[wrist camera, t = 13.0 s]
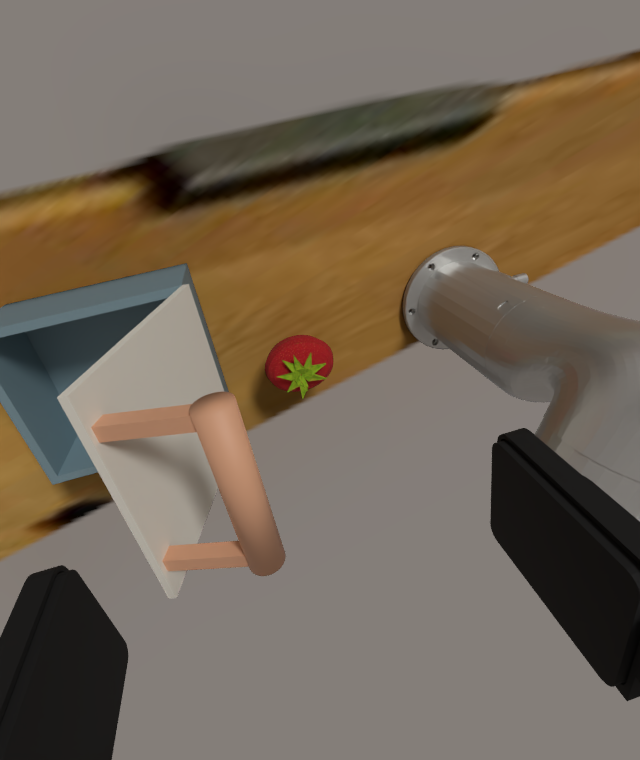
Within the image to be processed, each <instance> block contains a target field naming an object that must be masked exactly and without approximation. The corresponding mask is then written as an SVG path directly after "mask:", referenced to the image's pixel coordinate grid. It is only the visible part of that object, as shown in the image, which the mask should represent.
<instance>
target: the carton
mask: <svg viewBox="0 0 640 760" xmlns="http://www.w3.org/2000/svg"><path fill="white" fill-rule="evenodd" d="M186 284H189V286H190V290H191V293H192V296H193V299H194V302H195V305H196V308H197V311H198V314H199V317H200V320H201V323H202V326H203V329H204V332H205V335H206V338H207V341H208V344H209V347H210V350H211V353H212V356H213V359H214V362H215V365H216V368H217V371H218V374H219V377H220V380H221V383H222V386H223V389H224V392H229V391H228V388H227V385H226V382H225V379H224V376H223V373H222V370H221V367H220V364H219V361H218V358H217V355H216V352H215V348H214V345H213V342H212V339H211V336H210V333H209V330H208V327H207V324H206V321H205V318H204V315H203V312H202V309H201V306H200V303H199V299H198V296H197V293H196V290H195V287H194V284H193V281H192V278H191V275H190V272H189V269H188V266H187V263H186V264H181V265H177V266H173V267H168V268H164V269H160V270H155V271H151V272H146V273H142V274H138V275H133V276H129V277H125V278H120V279H116V280H111V281H107V282H103V283H98V284H94V285H90V286H85V287H81V288H76V289H72V290H68V291H63V292H59V293H55V294H50V295H46V296H41V297H37V298H33V299H28V300H24V301H20V302H15V303H11V304H6V305H4V306H3V307H1V308H0V402H1V404H2V406H3V407H4V409H5V410H6V412H7V413H8V415H9V417H10V418H11V420H12V421H13V423H14V424H15V426H16V428H17V429H18V431H19V432H20V434H21V435H22V437H23V439H24V440H25V442H26V443H27V445H28V447H29V448H30V450H31V451H32V453H33V454H34V456H35V458H36V459H37V461H38V462H39V464H40V465H41V467H42V469H43V470H44V472H45V473H46V475H47V476H48V478H49V480H50V481H51V483H52V484H53V485H54V484H57V483H61V482H64V481H68V480H72V479H75V478H79V477H83V476H86V475H90V474H93V473H97V472H98V471H97V469H96V467H95V466H94V464H93V462H92V460H91V458H90V457H89V455H88V453H87V451H86V449H85V448H84V446H83V444H82V442H81V440H80V439H79V437H78V435H77V433H76V431H75V430H74V428H73V426H72V424H71V422H70V421H69V419H68V417H67V415H66V413H65V412H64V410H63V408H62V406H61V404H60V403H59V401H58V399H57V397H58V396H59V395H60V394H61V393H62V392H63V391H65V390H66V389H67V388H68V387H69V386H70V385H71V384H72V383H73V382H75V381H76V380H77V379H78V378H79V377H80V376H81V375H82V374H83V373H85V372H86V371H87V370H88V369H89V368H90V367H91V366H92V365H94V364H95V363H96V362H97V361H98V360H99V359H100V358H101V357H102V356H104V355H105V354H106V353H107V352H108V351H109V350H110V349H111V348H112V347H114V346H115V345H116V344H117V343H118V342H119V341H120V340H121V339H122V338H124V337H125V336H126V335H127V334H128V333H129V332H130V331H131V330H133V329H134V328H135V327H136V326H137V325H138V324H139V323H140V322H141V321H143V320H144V319H145V318H146V317H147V316H148V315H149V314H150V313H151V312H153V311H154V310H155V309H156V308H157V307H158V306H159V305H160V304H162V303H163V302H164V301H165V300H166V299H167V298H168V297H169V296H170V295H172V294H173V293H174V292H175V291H176V290H177V289H178V288H179V287H180V286H182V285H186Z"/></svg>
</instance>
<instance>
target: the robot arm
mask: <svg viewBox="0 0 640 760" xmlns="http://www.w3.org/2000/svg"><path fill="white" fill-rule="evenodd" d="M472 255H473V256H472ZM429 264H430V266H429ZM428 266H429V267H428ZM527 283H528V276H527V274H525V273H522V274H518V275H514V276H512V277H511V276H509V275H506V274H504V273H501V272H499V270H498V267H497V266H496V264H495V262H494V261H493V260H492V259H491V258H490V257H489V256H488V255H487V254H485V253H484V252H482V251H481V250H478V249H475V248H472V247H467V246H453V247H449V248H445V249H442V250H440V251H438V252H436V253H434V254H433V255H431V256H430V257H428V258H427V259H426V260H425V261H424V262H423V263H422V264H421V265H420V266H419V267H418V268H417V269H416V271H415V272H414V273H413V275H412V276H411V278H410V280H409V282H408V284H407V287H406V290H405V293H404V298H403V315H404V319H405V323H406V325H407V327H408V329H409V331H410V332H411V333H412V334H413V336H414V337H415V338H417V339H418V340H419V341H420V342H422V343H423V344H425V345H427V346H429V347H432V348H437V349H451V350H452V351H453V352H455V353H456V354H457V355H459V356H460V357H461V358H462V359H464V360H465V361H466V362H468V363H469V364H470V365H471V366H473V367H474V368H475V369H476V370H478V371H479V372H480V373H481V374H483V375H484V376H485V377H487V378H488V379H489V380H490V381H492V382H493V383H494V384H495V385H497V386H498V387H499V388H501V389H502V390H503V391H505V392H506V393H508V394H509V395H511V396H513V397H516V398H518V399H521V400H526V401H530V402H551V403H550V405H549V407H548V409H547V411H546V413H545V414H544V418H543V420H542V422H541V423H540V425H539V427H538V429H537V431H536V433H535V434H533V433H532V432H531V431H529V430H528V429H525V428H522V429H518V430H515V431H512V432H508V433H505V434H502V435H500V436H499V437H498V441H497V443H494V444H493V447H492V482H491V483H492V485H491V529H492V532H493V535H494V536H495V538H496V540H497V541H498V543H499V544H500V545H501V547H502V548H503V549H504V551H505V552H506V553H507V555H508V556H509V557H510V559H511V560H512V561H513V563H514V564H515V565H516V567H517V568H518V569H519V571H520V572H521V573H522V574H523V576H524V577H525V579H526V580H527V581H528V582H529V584H530V585H531V586H532V588H533V589H534V591H535V592H536V593H537V594H538V596H539V597H540V598H541V600H542V601H543V602H544V603H545V605H546V606H547V608H548V609H549V610H550V612H551V613H552V614H553V616H554V617H555V618H556V620H557V621H558V622H559V624H560V625H561V626H562V628H563V629H564V630H565V632H566V633H567V634H568V636H569V637H570V638H571V640H572V641H573V642H574V644H575V645H576V646H577V648H578V649H579V650H580V652H581V653H582V654H583V656H584V657H585V658H586V660H587V661H588V662H589V664H590V665H591V666H592V668H593V669H594V670H595V671H596V673H597V674H598V676H599V677H600V678H601V679H602V680H603V681H604V682H605V683H606V684H607V685H609V686H616V687H617V689H618V690H619V691H620V693H621V694H622V695H623V697H624V698H625V699H626V700H627V701H628V700H631V699H634V698H636V697H639V696H640V321H637V320H632V319H627V318H623V317H619V316H616V315H612V314H607V313H604V312H601V311H598V310H595V309H592V308H589V307H586V306H583V305H580V304H577V303H575V302H572V301H570V300H567V299H564V298H562V297H559V296H556V295H553V294H551V293H548V292H546V291H543V290H541V289H538V288H536V287H533V286H530V285H528V284H527ZM410 309H411V310H410ZM409 310H410V311H409ZM127 663H128V649H127V645H126V642H125V641H124V639H123V638H122V636H121V635H120V633H119V632H118V630H117V629H116V628H115V626H114V625H113V623H112V622H111V620H110V619H109V617H108V616H107V614H106V613H105V612H104V610H103V609H102V607H101V606H100V605H99V603H98V601H97V600H96V598H95V597H94V596H93V594H92V593H91V591H90V590H89V588H88V587H87V586H86V584H85V583H84V581H83V580H82V578H81V577H80V575H79V574H78V572H77V571H75V570H68V569H67V568H66V567H65V566H62V565H61V566H57V567H54V568H51V569H47V570H44V571H40V572H37V573H34V574H31V575H30V576H29V577H28V578H27V579H26V581H25V583H24V585H23V587H22V590H21V592H20V594H19V596H18V599H17V601H16V603H15V606H14V608H13V610H12V612H11V615H10V617H9V619H8V621H7V624H6V626H5V628H4V630H3V633H2V635H1V637H0V760H111V759H112V753H113V747H114V741H115V735H116V729H117V723H118V717H119V711H120V705H121V699H122V693H123V687H124V681H125V674H126V669H127Z"/></svg>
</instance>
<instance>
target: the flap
mask: <svg viewBox="0 0 640 760" xmlns="http://www.w3.org/2000/svg"><path fill="white" fill-rule="evenodd" d="M57 399H58V401H59V403H60V404H61V406H62V408H63V410H64V412H65V413H66V415H67V417H68V419H69V421H70V422H71V424H72V426H73V428H74V430H75V431H76V433H77V435H78V437H79V439H80V440H81V442H82V444H83V446H84V448H85V449H86V451H87V453H88V455H89V457H90V458H91V460H92V462H93V464H94V466H95V467H96V469H97V471H98V473H99V475H100V476H101V478H102V480H103V482H104V483H105V485H106V487H107V489H108V491H109V492H110V494H111V496H112V498H113V500H114V501H115V503H116V505H117V506H118V509H119V510H120V512H121V514H122V516H123V518H124V519H125V521H126V523H127V525H128V527H129V528H130V530H131V532H132V534H133V536H134V537H135V539H136V541H137V543H138V545H139V546H140V548H141V550H142V551H143V553H144V555H145V557H146V559H147V561H148V562H149V564H150V566H151V568H152V570H153V571H154V573H155V575H156V577H157V579H158V580H159V582H160V584H161V586H162V588H163V589H164V591H165V593H166V595H167V597H168V598H177V596H178V594H179V591H180V588H181V585H182V583H183V580H184V577H185V575H186V572H187V570H197V569H214V568H231V567H247V566H249V568H250V570H251V571H252V572H253V573H254V574H256V575H259V576H267V575H271V574H273V573H275V572H276V571H278V570H279V569H280V568H281V566H282V565H283V563H284V561H285V551H284V548H283V545H282V542H281V539H280V536H279V533H278V529H277V526H276V523H275V520H274V517H273V514H272V511H271V508H270V505H269V502H268V498H267V495H266V492H265V489H264V486H263V483H262V479H261V476H260V473H259V470H258V467H257V464H256V461H255V458H254V454H253V452H252V448H251V445H250V442H249V439H248V436H247V433H246V429H245V426H244V423H243V420H242V417H241V414H240V411H239V408H238V404H237V401H236V398H235V396H234V395H233V394H232V393H230V392H224V389H223V386H222V383H221V380H220V377H219V374H218V371H217V368H216V365H215V362H214V359H213V356H212V353H211V350H210V347H209V344H208V341H207V338H206V335H205V332H204V329H203V326H202V323H201V320H200V317H199V314H198V311H197V308H196V305H195V302H194V299H193V296H192V293H191V290H190V286H189V284H186V285H182V286H180V287H179V288H178V289H177V290H176V291H175V292H174V293H173V294H172V295H170V296H169V297H168V298H167V299H166V300H165V301H164V302H163V303H162V304H160V305H159V306H158V307H157V308H156V309H155V310H154V311H153V312H151V313H150V314H149V315H148V316H147V317H146V318H145V319H144V320H143V321H141V322H140V323H139V324H138V325H137V326H136V327H135V328H134V329H133V330H131V331H130V332H129V333H128V334H127V335H126V336H125V337H124V338H122V339H121V340H120V341H119V342H118V343H117V344H116V345H115V346H114V347H112V348H111V349H110V350H109V351H108V352H107V353H106V354H105V355H104V356H102V357H101V358H100V359H99V360H98V361H97V362H96V363H95V364H94V365H92V366H91V367H90V368H89V369H88V370H87V371H86V372H85V373H83V374H82V375H81V376H80V377H79V378H78V379H77V380H76V381H75V382H73V383H72V384H71V385H70V386H69V387H68V388H67V389H66V390H65V391H63V392H62V393H61V394H60V395H59V396H58V397H57ZM218 488H219V491H220V493H221V496H222V499H223V501H224V503H225V506H226V509H227V511H228V514H229V517H230V519H231V522H232V524H233V527H234V529H235V532H236V535H237V537H238V540H239V541H230V542H215V543H202V544H197V543H198V541H199V538H200V535H201V533H202V530H203V527H204V525H205V522H206V519H207V517H208V514H209V511H210V509H211V506H212V503H213V501H214V498H215V496H216V493H217V490H218Z"/></svg>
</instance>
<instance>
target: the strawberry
mask: <svg viewBox="0 0 640 760" xmlns="http://www.w3.org/2000/svg"><path fill="white" fill-rule="evenodd" d="M332 367H333V354H332V351H331V349H330V347H329V346H328V345H327V344H326V343H325V342H323V341H321V340H319V339H317V338H314V337H312V336H308V335H296V336H292V337H289V338H286V339H284V340H282V341H280V342H279V343H278V344H276V345H275V346H274V347H273V349H272V350H271V352H270V353H269V356H268V358H267V361H266V363H265V372H266V375H267V377H268V379H269V380H270V381H271V382H272V383H273V384H274V385H275V386H276V387H278V388H279V389H282V390H285V391H287V393H288V392H290V391H292V392H296V391H301V394H302V399H303V398H304V395H305V393H306V391H308V390H307V389H310V388H313V387H315V386H316V385H318V384H320V383H321V382H322V381H324V380H325V379H326V378H327V376H328V375H329V374H330V372H331V370H332Z"/></svg>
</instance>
